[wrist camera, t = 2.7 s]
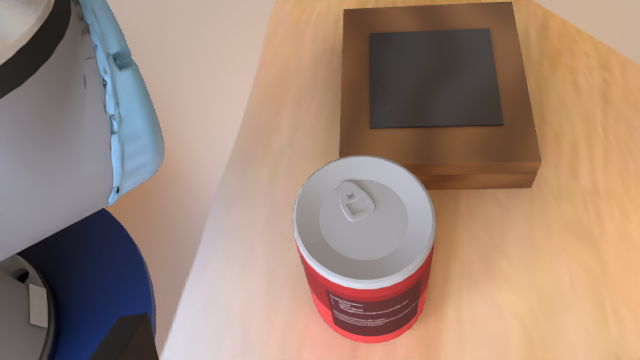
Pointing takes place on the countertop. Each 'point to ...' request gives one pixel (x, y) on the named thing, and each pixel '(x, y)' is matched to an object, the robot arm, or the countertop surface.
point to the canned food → (365, 245)
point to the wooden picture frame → (439, 94)
